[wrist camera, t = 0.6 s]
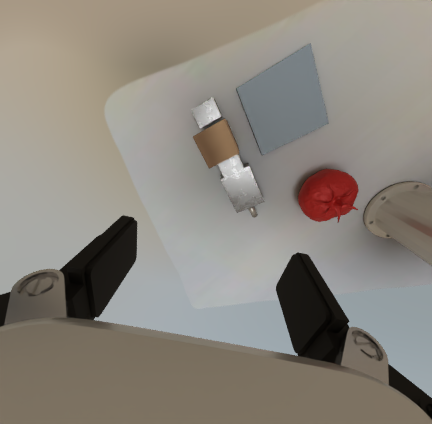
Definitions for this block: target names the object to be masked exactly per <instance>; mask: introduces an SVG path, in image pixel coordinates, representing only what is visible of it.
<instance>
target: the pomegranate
mask: <svg viewBox="0 0 432 424" xmlns="http://www.w3.org/2000/svg"><path fill="white" fill-rule="evenodd" d="M357 193H358V185H357V183H356V181H355V180H354V178H353V177H352V176H350V175H349V174H347V173H346V172H341V171H339V170H333V169H324V170H321V171H319V172H317V173H316V174H314V175H312V176H310V177H309V178H308V179H307V180H306V181H305V183H304V184H303V186H302V188H301V189H300V192H299V195H298V202H299V205H300V207H301V209H302V211H303V212H304V214H305V215H306V216H308V217H309V218H310V219H312V220H314V221H318V222H321V221H327V220H330V219H331V218H334V217H337V216H338V222H339V219H340V215H345V214H347V213H348V212H349V211H351V210H352V209H355V210H358V209H356V208H355V207H353V204H354V201H355V199H356V197H357Z"/></svg>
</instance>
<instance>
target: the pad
mask: <svg viewBox="0 0 432 424" xmlns="http://www.w3.org/2000/svg"><path fill="white" fill-rule="evenodd" d="M236 90H237V92H238V95H239V97H240V100H241V102H242V105H243V108H244V110H245V113H246V115H247V118H248V121H249V123H250V126H251V128H252V131H253V133H254V136H255V139H256V141H257V144H258V146H259V149H260V152H261V154H262V155H264V154H266V153H268V152H270V151H272V150H274V149H276V148H278V147H280V146H283V145H285V144H287V143H289V142H291V141H293V140H295V139H297V138H299V137H301V136H303V135H305V134H308V133H310V132H312V131H314V130H316V129H318V128H320V127H322V126H324V125H326V124H328V123H329V122H328V118H327V113H326V109H325V104H324V100H323V96H322V91H321V87H320V82H319V78H318V74H317V69H316V65H315V61H314V56H313V52H312V47H311V43H310V44H308V45H307V46H305V47H303V48H302V49H300V50H298V51H297V52H295V53H294V54H292V55H290V56H289V57H287V58H285V59H284V60H282V61H280V62H279V63H277V64H276V65H274V66H272V67H271V68H269V69H267V70H266V71H264V72H262V73H261V74H259V75H258V76H256V77H254V78H253V79H251V80H249V81H248V82H246V83H244V84H243V85H241V86H240V87H238V88H236Z"/></svg>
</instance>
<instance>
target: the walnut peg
mask: <svg viewBox="0 0 432 424" xmlns="http://www.w3.org/2000/svg"><path fill="white" fill-rule="evenodd" d="M193 138H194V140H195V142H196V144H197V146H198V148H199V150H200V152H201V154H202V156H203V158H204V160H205V162H206V163H207V165H208V167H209V168H211V167H213V166H215V165H217V164H219V163H221V162H223V161H225V160H227V159H229V158H231V157H233V156H235V155H237V154H239V149H238V145H237V143H236V140H235V138H234V136H233V133H232V131H231V129H230V126H229V124H228V122H227V120H226V119H223V120H221V121H219V122H218V123H216V124H214V125H212V126H211V127H209V128H207V129H205V130H204V131H202V132H200V133H198V134H197V135H195V136H193Z"/></svg>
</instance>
